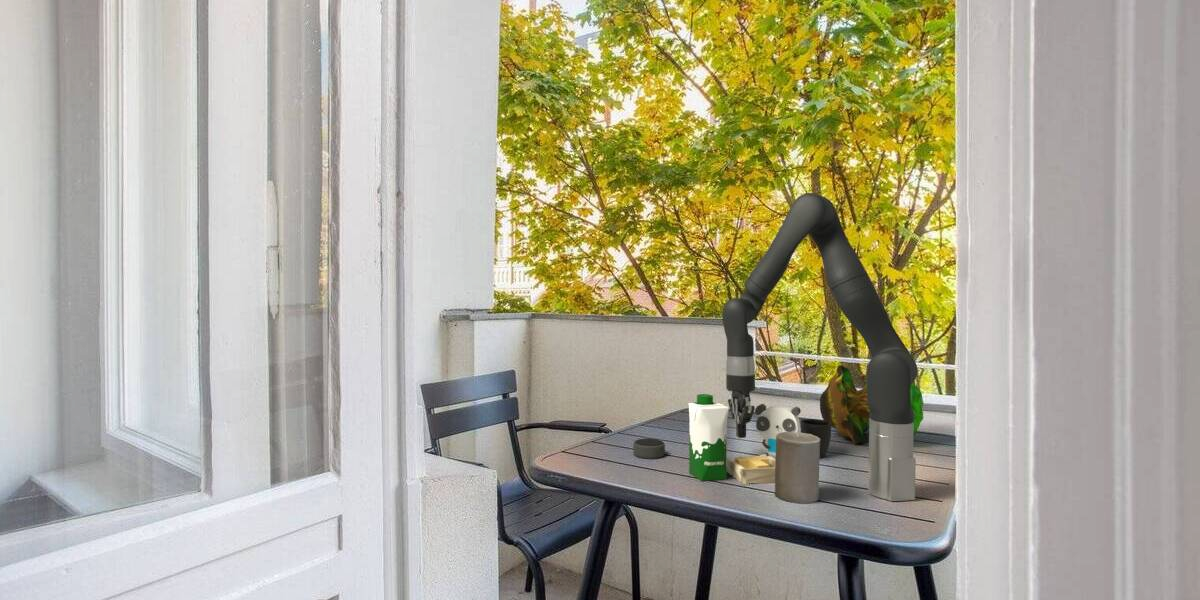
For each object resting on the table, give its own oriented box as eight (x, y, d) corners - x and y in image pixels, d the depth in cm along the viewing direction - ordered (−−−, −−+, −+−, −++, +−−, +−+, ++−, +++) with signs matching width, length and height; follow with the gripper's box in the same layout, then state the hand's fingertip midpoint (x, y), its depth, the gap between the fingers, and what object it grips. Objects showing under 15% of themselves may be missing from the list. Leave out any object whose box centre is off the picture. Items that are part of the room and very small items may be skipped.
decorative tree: (836, 462, 202) (936, 451, 190) (820, 444, 181) (931, 430, 168) (822, 384, 215) (914, 369, 202) (805, 359, 193) (907, 340, 181)
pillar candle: (766, 495, 139) (767, 430, 138) (787, 486, 145) (789, 424, 145) (806, 507, 132) (808, 439, 131) (826, 496, 138) (828, 431, 138)
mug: (815, 447, 181) (816, 416, 181) (836, 459, 169) (836, 425, 169) (789, 448, 180) (790, 416, 180) (808, 459, 168) (808, 425, 168)
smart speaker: (640, 461, 166) (640, 446, 166) (628, 452, 174) (628, 439, 174) (670, 458, 169) (670, 444, 169) (657, 450, 177) (657, 436, 177)
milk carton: (715, 469, 158) (716, 393, 158) (732, 480, 150) (733, 399, 149) (684, 472, 156) (685, 394, 156) (699, 483, 147) (700, 400, 147)
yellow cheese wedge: (778, 480, 150) (778, 464, 150) (747, 482, 148) (748, 466, 148) (763, 471, 157) (763, 455, 157) (734, 472, 156) (734, 457, 156)
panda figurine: (750, 462, 165) (751, 407, 165) (760, 452, 175) (761, 400, 175) (796, 468, 160) (797, 412, 159) (803, 458, 170) (804, 404, 169)
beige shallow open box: (788, 482, 149) (789, 467, 149) (742, 484, 147) (742, 469, 147) (769, 469, 159) (769, 455, 159) (725, 471, 157) (726, 457, 157)
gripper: (764, 375, 157) (765, 442, 157) (743, 369, 170) (744, 431, 170) (736, 376, 156) (737, 443, 156) (718, 370, 169) (718, 432, 169)
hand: (741, 437), depth 163 cm, fingers closed
